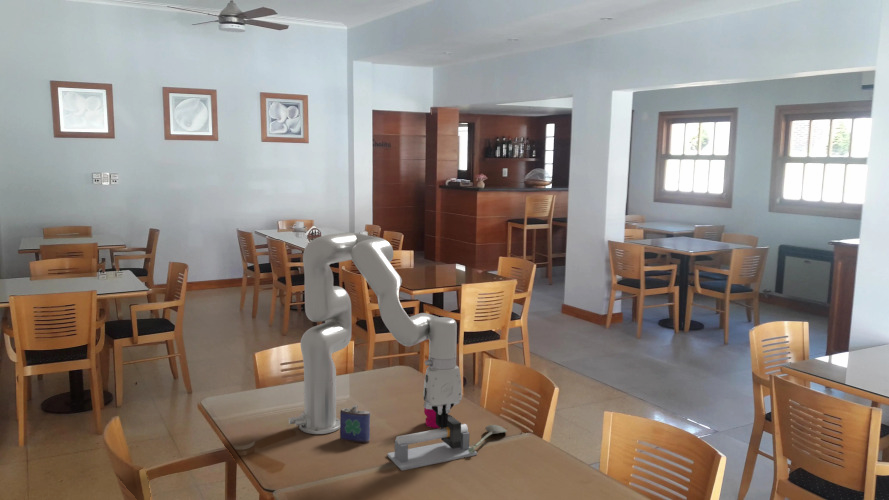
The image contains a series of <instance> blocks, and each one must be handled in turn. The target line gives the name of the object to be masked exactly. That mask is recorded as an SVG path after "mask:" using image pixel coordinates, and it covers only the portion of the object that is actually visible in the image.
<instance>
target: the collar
mask: <svg viewBox="0 0 889 500" xmlns="http://www.w3.org/2000/svg"><path fill="white" fill-rule="evenodd" d="M461 425H462V422H460V421H459V420H458V419H456V418H455V417H453V416H452V415H451V414H448V423H447V427H449V428H450V437H445V438H440V439H441V441H442V442H445V443H446V444H447V445H449V446H450V447H451V448H452V449H454V448H459V447H461Z"/></svg>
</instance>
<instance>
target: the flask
mask: <svg viewBox="0 0 889 500" xmlns="http://www.w3.org/2000/svg"><path fill="white" fill-rule="evenodd" d="M358 406H359V405H358V404H353V405H352V406H351V407H352V408H349V407H344V408H341V409H340V412H339V414H340V416H339V417H340V418H339V420H340V428H339V438H340V440H341V441H342V442H343V441H344V442H348V443H358V444H369V443H370V441H371V435H370V434H371V432H370V431H371V426H370V425H371V412H370V411H369V410H358Z"/></svg>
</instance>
